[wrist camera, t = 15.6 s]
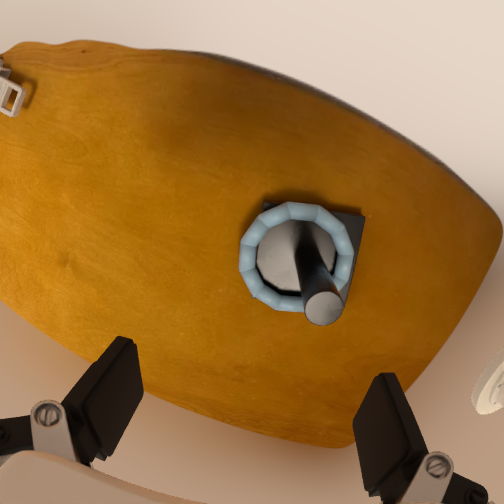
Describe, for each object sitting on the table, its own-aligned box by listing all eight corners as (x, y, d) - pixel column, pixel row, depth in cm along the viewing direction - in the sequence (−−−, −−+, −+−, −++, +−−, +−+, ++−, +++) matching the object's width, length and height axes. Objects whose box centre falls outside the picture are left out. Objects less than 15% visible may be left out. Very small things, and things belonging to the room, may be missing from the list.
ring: (358, 209, 23) (363, 212, 22) (338, 310, 26) (341, 317, 25) (244, 196, 24) (242, 198, 22) (237, 301, 27) (235, 308, 25)
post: (361, 214, 25) (410, 246, 15) (341, 302, 27) (369, 368, 18) (263, 199, 25) (258, 224, 15) (252, 292, 28) (241, 359, 18)
